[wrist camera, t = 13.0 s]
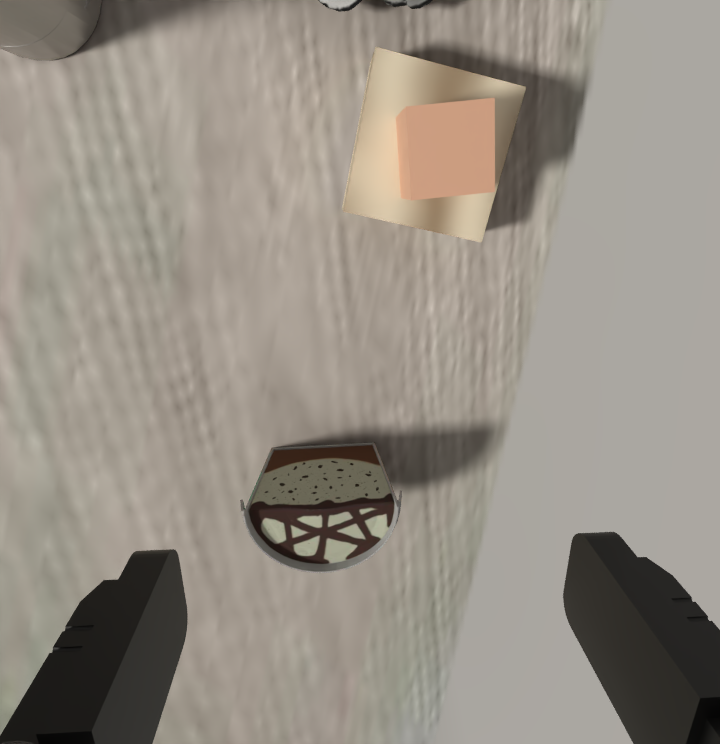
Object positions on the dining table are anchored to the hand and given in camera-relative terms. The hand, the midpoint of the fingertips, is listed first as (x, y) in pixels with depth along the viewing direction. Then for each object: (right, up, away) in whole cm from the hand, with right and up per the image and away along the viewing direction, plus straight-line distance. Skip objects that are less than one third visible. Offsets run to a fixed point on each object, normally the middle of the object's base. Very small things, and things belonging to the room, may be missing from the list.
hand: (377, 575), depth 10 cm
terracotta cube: (+5, +19, +24) cm, 31 cm away
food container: (-4, -5, +37) cm, 38 cm away
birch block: (+4, +21, +28) cm, 35 cm away
